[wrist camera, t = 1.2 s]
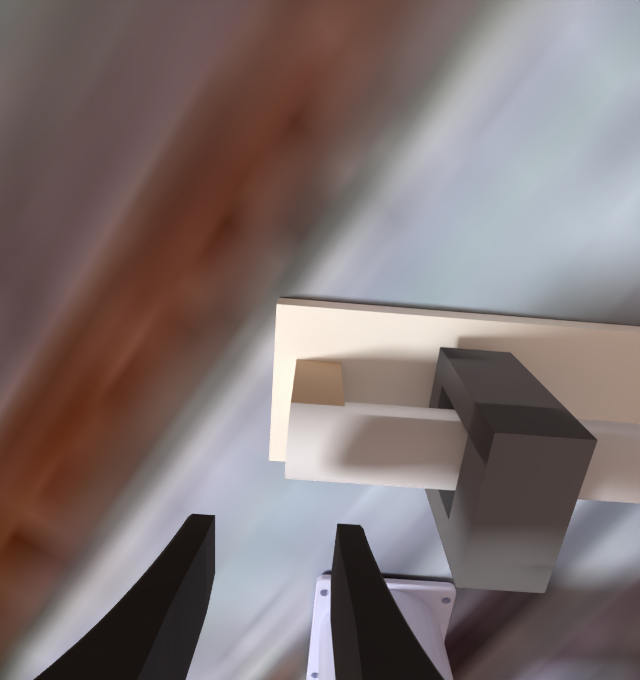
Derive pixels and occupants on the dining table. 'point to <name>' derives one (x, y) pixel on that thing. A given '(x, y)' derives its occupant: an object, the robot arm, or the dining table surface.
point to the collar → (506, 472)
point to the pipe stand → (416, 387)
